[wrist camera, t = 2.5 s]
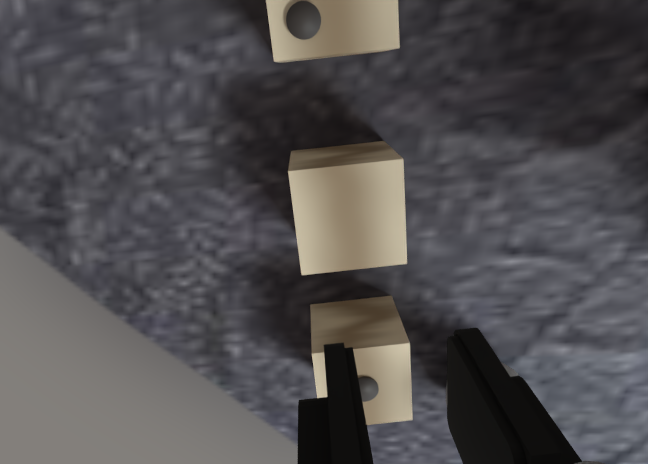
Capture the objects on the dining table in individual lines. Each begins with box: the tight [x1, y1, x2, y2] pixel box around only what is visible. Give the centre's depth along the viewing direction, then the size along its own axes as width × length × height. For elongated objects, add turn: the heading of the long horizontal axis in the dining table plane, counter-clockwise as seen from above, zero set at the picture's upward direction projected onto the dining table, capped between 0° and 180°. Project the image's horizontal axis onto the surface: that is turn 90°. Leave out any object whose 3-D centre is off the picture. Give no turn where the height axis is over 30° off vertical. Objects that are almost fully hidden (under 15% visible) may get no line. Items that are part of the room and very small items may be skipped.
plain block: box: [288, 141, 407, 275], centre depth 27 cm, size 6×6×6 cm
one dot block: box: [310, 296, 412, 425], centre depth 31 cm, size 6×6×6 cm
